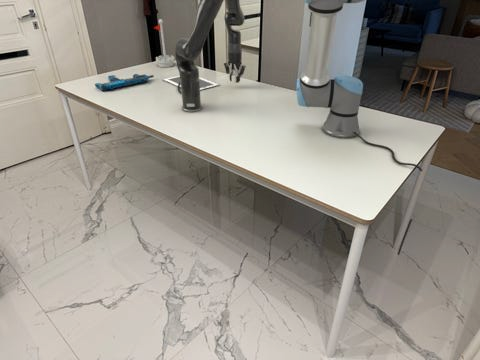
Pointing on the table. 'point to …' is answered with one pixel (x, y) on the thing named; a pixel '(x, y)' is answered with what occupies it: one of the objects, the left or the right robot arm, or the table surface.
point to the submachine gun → (122, 81)
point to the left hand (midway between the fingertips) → (234, 81)
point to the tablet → (203, 82)
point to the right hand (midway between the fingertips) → (316, 28)
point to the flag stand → (165, 60)
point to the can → (234, 78)
